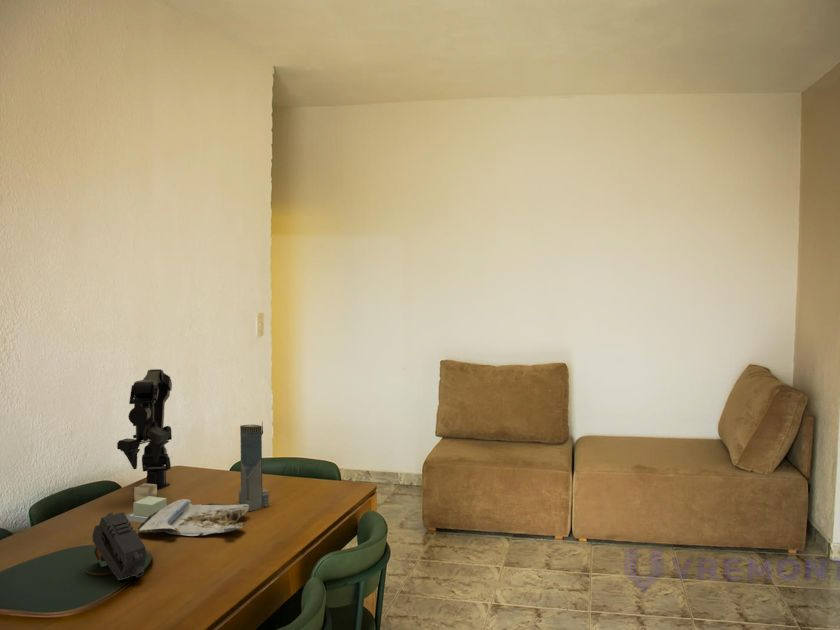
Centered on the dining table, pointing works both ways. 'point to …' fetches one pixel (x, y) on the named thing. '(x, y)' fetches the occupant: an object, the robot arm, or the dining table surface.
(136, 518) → the slate mat
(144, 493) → the birch cube
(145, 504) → the sage block
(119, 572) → the tool
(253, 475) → the building
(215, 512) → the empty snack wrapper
